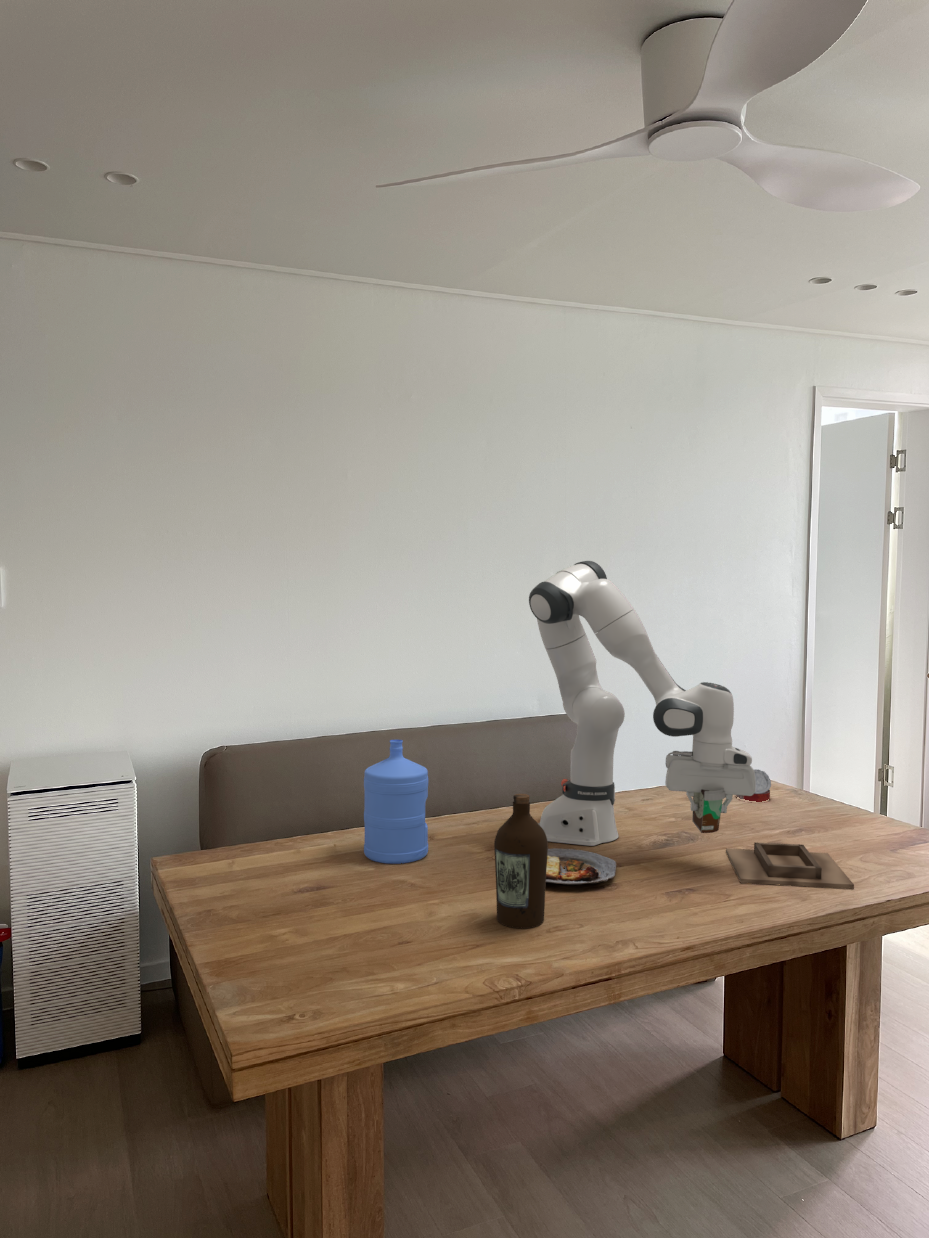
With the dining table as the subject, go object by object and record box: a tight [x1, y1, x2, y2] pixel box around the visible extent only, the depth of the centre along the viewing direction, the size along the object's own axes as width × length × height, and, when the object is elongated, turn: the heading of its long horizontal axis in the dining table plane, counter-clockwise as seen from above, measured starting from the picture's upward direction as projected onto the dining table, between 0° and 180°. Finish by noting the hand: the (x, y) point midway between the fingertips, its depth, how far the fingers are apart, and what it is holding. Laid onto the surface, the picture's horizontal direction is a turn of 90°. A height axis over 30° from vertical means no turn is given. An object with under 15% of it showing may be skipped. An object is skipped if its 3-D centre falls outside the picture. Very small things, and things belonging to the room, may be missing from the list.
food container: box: [691, 788, 726, 834], centre depth 209 cm, size 12×6×10 cm, turn 178°
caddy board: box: [725, 841, 855, 890], centre depth 209 cm, size 24×22×4 cm
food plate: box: [546, 847, 617, 886], centre depth 206 cm, size 25×23×4 cm
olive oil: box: [493, 793, 549, 929], centre depth 178 cm, size 11×11×25 cm
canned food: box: [735, 769, 772, 802], centre depth 273 cm, size 11×10×10 cm
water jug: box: [363, 739, 429, 865], centre depth 218 cm, size 16×16×28 cm
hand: (708, 811), depth 209 cm, fingers closed on food container, 5 cm apart
